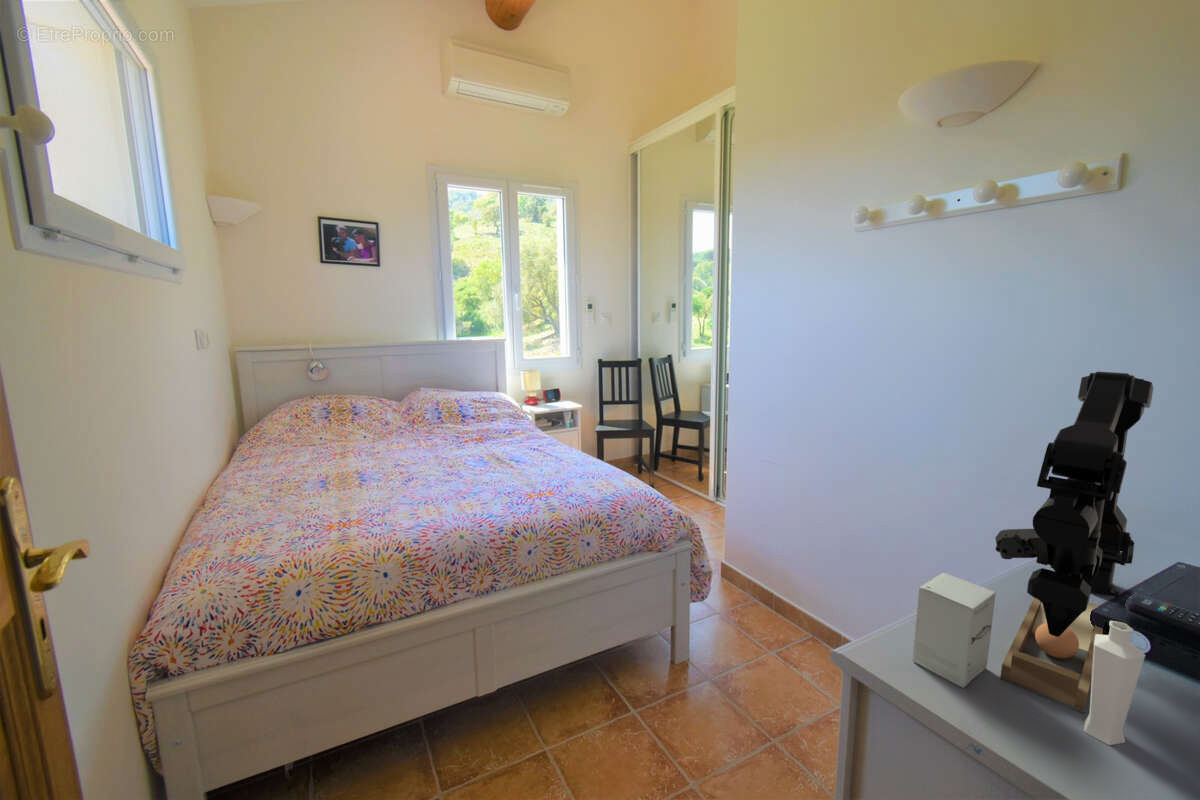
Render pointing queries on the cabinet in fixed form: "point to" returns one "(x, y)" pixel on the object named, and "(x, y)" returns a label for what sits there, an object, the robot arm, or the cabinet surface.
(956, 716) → the cabinet surface
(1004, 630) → the cabinet surface
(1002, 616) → the cabinet surface
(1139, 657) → the perfume bottle
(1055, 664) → the wooden tray
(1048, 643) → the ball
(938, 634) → the supplement box
